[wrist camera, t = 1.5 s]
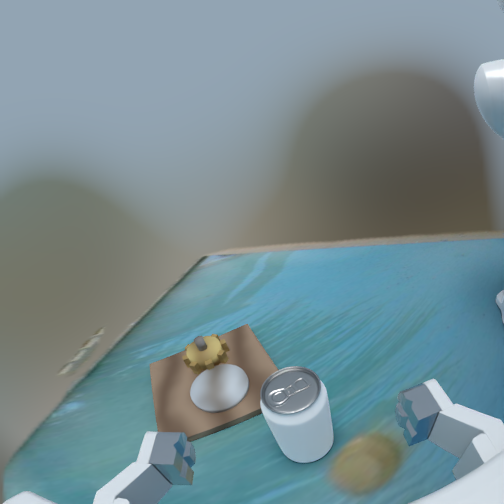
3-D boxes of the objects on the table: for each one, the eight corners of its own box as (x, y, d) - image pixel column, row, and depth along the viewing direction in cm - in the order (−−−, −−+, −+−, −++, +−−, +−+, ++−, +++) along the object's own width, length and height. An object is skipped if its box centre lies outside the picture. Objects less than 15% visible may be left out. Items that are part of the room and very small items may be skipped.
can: (272, 438, 30) (244, 385, 25) (314, 412, 32) (300, 353, 27) (298, 473, 25) (276, 430, 20) (344, 443, 26) (340, 389, 22)
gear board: (249, 328, 52) (240, 304, 50) (295, 396, 35) (287, 372, 33) (152, 368, 48) (138, 347, 46) (164, 449, 31) (143, 430, 29)
